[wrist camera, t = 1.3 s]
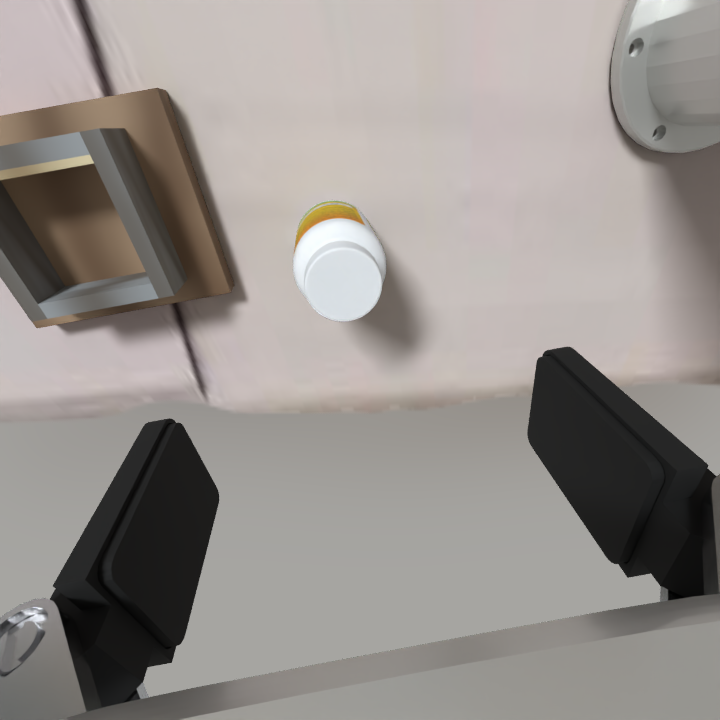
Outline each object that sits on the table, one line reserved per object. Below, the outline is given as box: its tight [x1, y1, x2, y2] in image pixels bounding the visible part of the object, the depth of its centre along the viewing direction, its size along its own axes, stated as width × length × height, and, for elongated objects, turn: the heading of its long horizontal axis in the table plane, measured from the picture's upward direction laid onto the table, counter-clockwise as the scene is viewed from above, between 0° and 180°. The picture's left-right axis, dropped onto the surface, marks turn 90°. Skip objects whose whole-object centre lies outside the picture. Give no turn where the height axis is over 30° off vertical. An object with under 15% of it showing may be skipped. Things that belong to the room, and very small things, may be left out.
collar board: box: [0, 88, 234, 328], centre depth 23 cm, size 14×12×4 cm
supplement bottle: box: [293, 200, 386, 322], centre depth 23 cm, size 5×5×10 cm
